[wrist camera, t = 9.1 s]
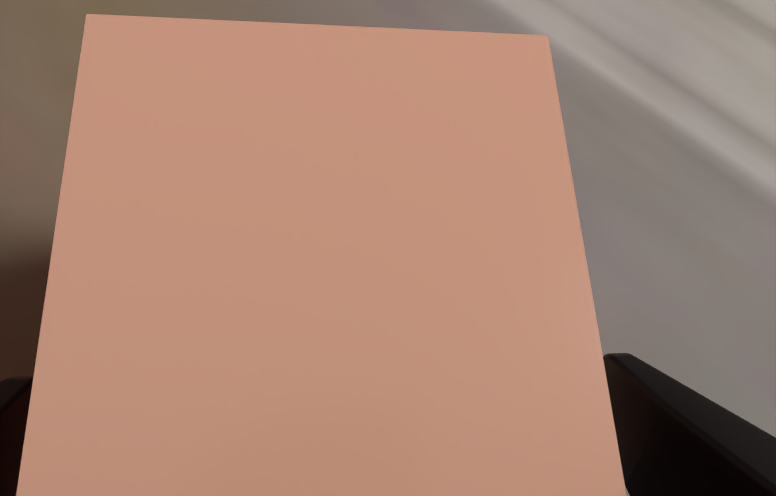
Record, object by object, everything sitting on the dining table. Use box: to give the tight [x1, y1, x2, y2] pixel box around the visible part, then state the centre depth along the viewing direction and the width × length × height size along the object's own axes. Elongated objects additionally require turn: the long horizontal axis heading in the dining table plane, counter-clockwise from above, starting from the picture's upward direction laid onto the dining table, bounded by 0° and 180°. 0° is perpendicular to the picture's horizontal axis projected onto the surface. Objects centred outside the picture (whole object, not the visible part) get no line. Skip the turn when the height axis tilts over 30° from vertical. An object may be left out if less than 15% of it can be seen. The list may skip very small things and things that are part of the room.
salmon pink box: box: [16, 14, 627, 496], centre depth 11 cm, size 7×7×10 cm
